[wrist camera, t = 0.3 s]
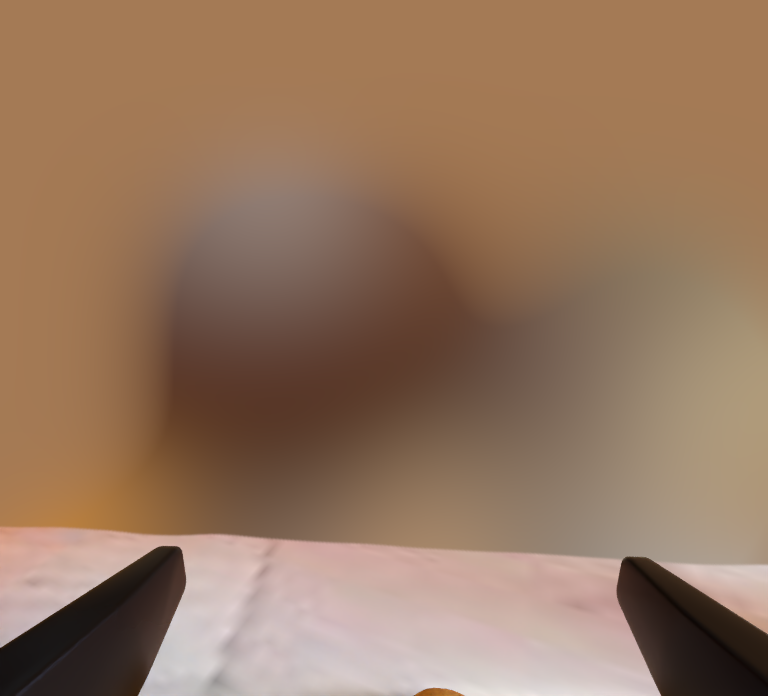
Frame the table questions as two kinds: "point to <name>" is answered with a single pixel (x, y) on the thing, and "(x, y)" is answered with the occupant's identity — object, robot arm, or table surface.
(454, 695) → the bread roll
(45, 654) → the robot arm
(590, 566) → the table surface
